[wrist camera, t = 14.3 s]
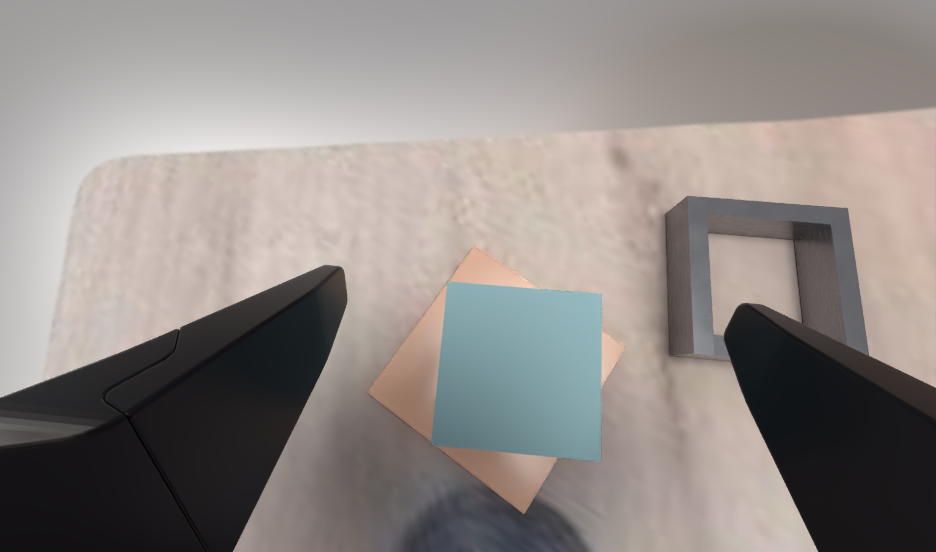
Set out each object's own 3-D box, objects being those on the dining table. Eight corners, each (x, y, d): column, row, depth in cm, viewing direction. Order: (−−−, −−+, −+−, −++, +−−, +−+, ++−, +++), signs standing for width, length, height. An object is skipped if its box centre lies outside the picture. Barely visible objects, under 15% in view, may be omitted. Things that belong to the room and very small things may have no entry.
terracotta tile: (522, 508, 20) (524, 514, 19) (370, 391, 22) (366, 392, 21) (620, 347, 22) (625, 346, 21) (474, 249, 24) (474, 245, 23)
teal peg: (538, 417, 21) (600, 461, 10) (452, 409, 21) (430, 445, 11) (541, 331, 22) (601, 294, 11) (460, 324, 22) (447, 281, 12)
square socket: (826, 370, 22) (871, 369, 19) (669, 355, 22) (694, 353, 20) (809, 225, 24) (847, 208, 21) (665, 213, 24) (687, 195, 22)
